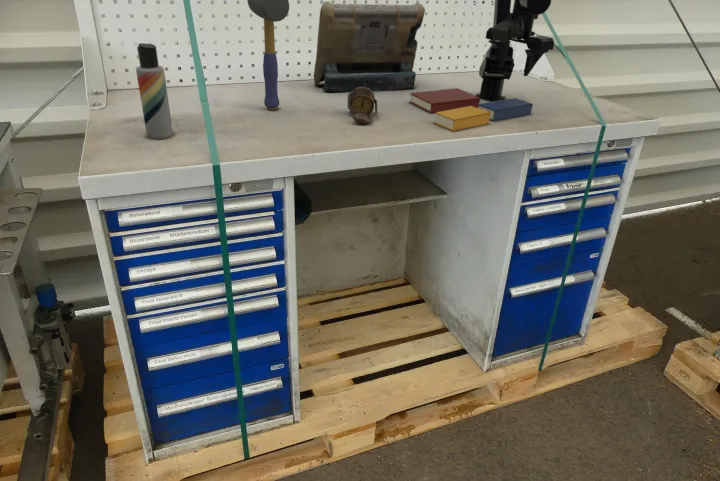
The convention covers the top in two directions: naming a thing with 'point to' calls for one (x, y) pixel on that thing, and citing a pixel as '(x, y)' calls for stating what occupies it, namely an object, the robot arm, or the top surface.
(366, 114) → the brown round dial piece
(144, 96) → the lotion bottle
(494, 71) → the robot arm
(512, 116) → the middle book
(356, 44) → the tablet
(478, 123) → the top book
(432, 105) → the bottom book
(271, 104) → the rubber mallet
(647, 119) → the top surface
